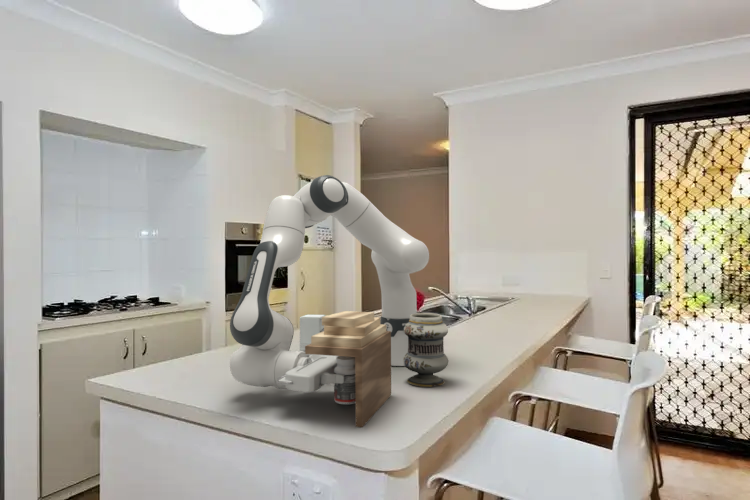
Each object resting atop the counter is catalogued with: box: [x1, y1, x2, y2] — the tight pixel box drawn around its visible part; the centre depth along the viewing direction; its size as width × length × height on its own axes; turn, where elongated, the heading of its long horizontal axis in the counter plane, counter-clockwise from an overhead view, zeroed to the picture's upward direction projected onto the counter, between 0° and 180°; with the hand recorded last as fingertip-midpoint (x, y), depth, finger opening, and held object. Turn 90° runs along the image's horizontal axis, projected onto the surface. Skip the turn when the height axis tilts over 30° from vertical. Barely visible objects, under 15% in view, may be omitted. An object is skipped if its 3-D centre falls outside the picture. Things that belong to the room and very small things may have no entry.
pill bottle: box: [333, 356, 356, 405], centre depth 109 cm, size 6×6×10 cm
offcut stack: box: [311, 310, 386, 348], centre depth 108 cm, size 11×19×5 cm, turn 163°
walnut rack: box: [305, 331, 392, 428], centre depth 108 cm, size 12×22×16 cm, turn 163°
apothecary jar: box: [403, 312, 449, 388], centre depth 129 cm, size 12×12×18 cm
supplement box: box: [299, 314, 326, 351], centre depth 167 cm, size 7×7×13 cm
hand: (350, 374), depth 109 cm, fingers closed on pill bottle, 6 cm apart
